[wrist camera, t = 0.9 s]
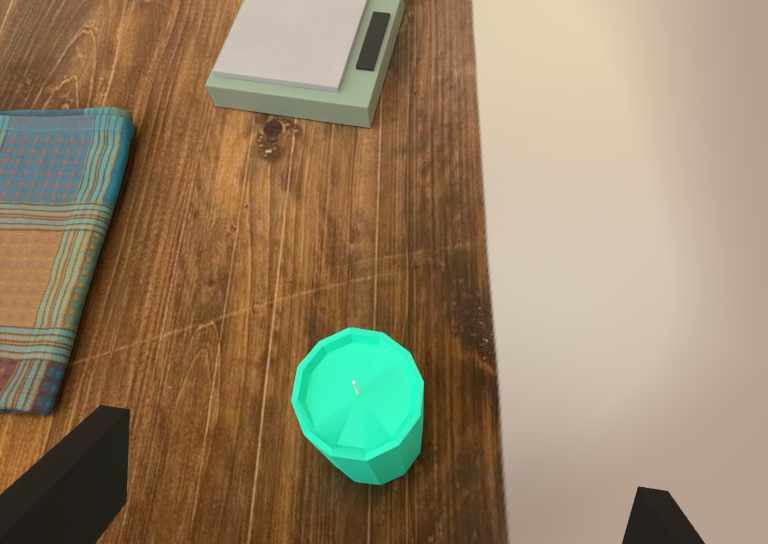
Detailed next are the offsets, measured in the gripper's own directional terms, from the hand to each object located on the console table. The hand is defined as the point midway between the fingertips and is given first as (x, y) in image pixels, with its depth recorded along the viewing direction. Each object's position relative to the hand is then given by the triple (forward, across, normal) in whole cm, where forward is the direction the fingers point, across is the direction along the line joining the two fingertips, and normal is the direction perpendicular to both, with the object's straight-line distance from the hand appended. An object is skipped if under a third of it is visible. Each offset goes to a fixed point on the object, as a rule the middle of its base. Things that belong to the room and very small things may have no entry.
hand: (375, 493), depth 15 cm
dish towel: (+28, -29, -4) cm, 40 cm away
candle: (+19, 0, -9) cm, 21 cm away
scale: (+39, -10, +14) cm, 42 cm away
